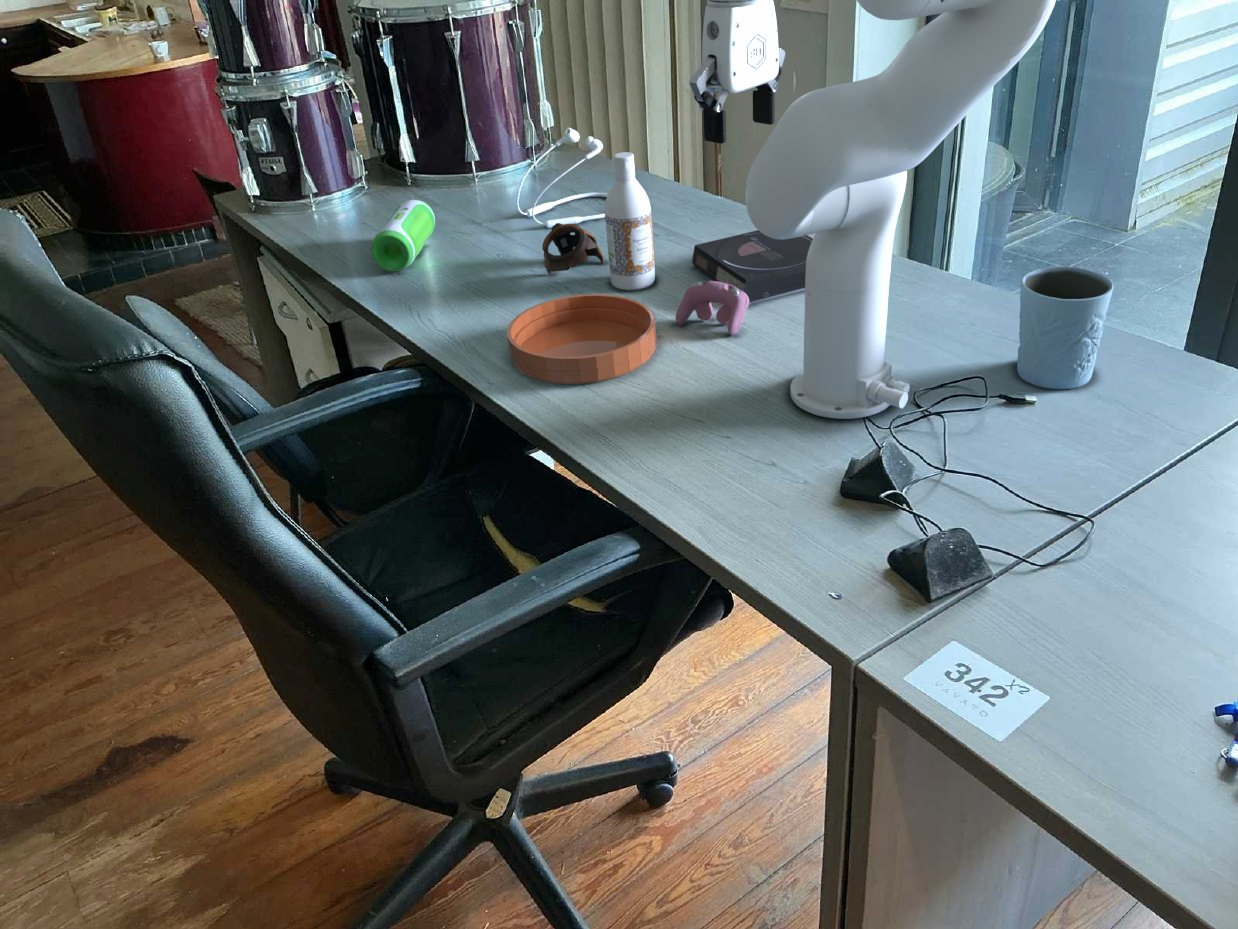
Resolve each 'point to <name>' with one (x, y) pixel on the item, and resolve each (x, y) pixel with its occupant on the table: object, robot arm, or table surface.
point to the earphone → (572, 137)
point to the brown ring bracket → (569, 247)
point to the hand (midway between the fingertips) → (739, 132)
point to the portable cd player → (755, 264)
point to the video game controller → (716, 292)
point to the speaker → (403, 235)
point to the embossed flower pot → (1061, 325)
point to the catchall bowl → (582, 338)
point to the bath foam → (629, 229)
